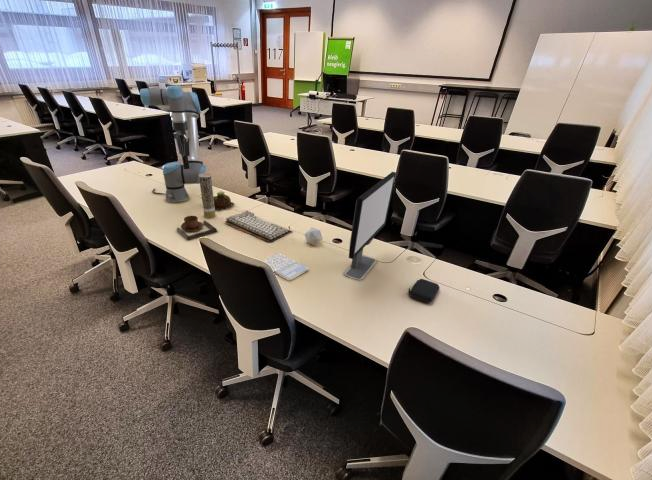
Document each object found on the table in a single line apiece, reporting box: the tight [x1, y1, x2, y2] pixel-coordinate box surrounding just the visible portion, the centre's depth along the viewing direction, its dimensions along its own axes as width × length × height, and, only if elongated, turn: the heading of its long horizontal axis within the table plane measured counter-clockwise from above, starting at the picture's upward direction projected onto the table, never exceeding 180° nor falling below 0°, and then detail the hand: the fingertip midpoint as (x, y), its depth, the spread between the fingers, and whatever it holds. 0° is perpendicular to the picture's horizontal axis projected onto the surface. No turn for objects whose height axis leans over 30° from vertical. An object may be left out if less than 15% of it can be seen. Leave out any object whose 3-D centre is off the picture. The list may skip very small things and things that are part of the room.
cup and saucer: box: [180, 215, 204, 232], centre depth 185 cm, size 12×12×6 cm
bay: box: [176, 220, 218, 241], centre depth 183 cm, size 14×17×2 cm
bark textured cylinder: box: [199, 172, 216, 219], centre depth 194 cm, size 7×7×25 cm
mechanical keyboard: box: [224, 210, 293, 243], centre depth 189 cm, size 38×19×3 cm, turn 50°
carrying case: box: [407, 278, 441, 304], centre depth 141 cm, size 11×3×15 cm
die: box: [304, 226, 323, 247], centre depth 174 cm, size 8×9×10 cm
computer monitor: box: [344, 171, 397, 281], centre depth 146 cm, size 41×8×40 cm, turn 148°
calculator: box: [262, 252, 309, 281], centre depth 155 cm, size 13×20×2 cm, turn 47°
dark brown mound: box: [213, 190, 235, 211], centre depth 212 cm, size 17×16×10 cm
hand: (186, 168), depth 183 cm, fingers closed
